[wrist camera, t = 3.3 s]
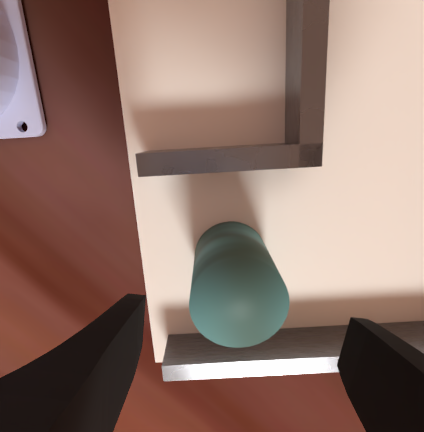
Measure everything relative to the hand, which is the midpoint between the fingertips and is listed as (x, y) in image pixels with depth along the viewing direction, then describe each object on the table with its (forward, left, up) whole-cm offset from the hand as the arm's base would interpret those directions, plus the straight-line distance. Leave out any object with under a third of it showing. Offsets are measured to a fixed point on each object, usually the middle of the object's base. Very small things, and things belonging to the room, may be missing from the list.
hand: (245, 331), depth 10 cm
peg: (0, 0, -7) cm, 7 cm away
